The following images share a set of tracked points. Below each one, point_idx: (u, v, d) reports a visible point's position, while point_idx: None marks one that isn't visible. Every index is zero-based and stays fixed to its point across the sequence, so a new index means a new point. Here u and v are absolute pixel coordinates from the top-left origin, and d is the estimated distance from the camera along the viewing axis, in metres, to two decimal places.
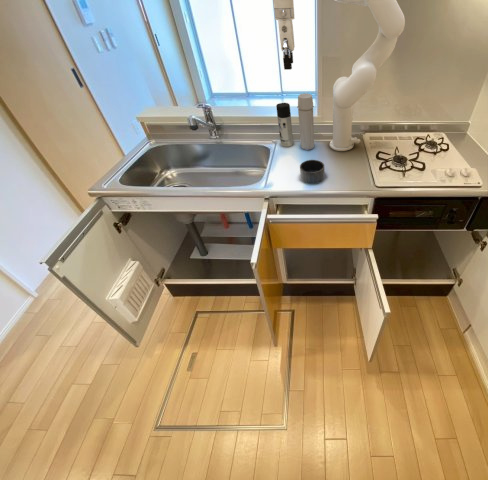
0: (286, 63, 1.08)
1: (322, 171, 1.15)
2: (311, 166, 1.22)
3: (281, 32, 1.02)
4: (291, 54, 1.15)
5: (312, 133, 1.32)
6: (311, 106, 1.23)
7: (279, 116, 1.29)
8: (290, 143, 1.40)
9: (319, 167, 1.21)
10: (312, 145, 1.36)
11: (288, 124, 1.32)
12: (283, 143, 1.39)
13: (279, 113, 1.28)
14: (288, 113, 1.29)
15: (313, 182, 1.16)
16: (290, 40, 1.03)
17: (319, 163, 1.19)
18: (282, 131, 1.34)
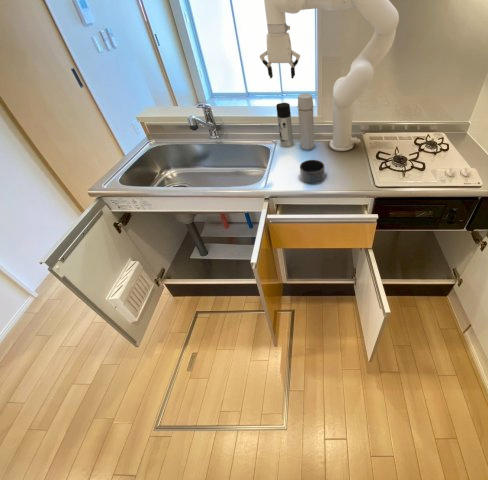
0: (294, 71, 1.17)
1: (322, 171, 1.15)
2: (311, 166, 1.22)
3: (289, 44, 1.09)
4: (271, 68, 1.18)
5: (312, 133, 1.32)
6: (311, 106, 1.23)
7: (279, 116, 1.29)
8: (290, 143, 1.40)
9: (319, 167, 1.21)
10: (312, 145, 1.36)
11: (288, 124, 1.32)
12: (283, 143, 1.39)
13: (279, 113, 1.28)
14: (288, 113, 1.29)
15: (313, 182, 1.16)
16: (291, 50, 1.13)
17: (319, 163, 1.19)
18: (282, 131, 1.34)
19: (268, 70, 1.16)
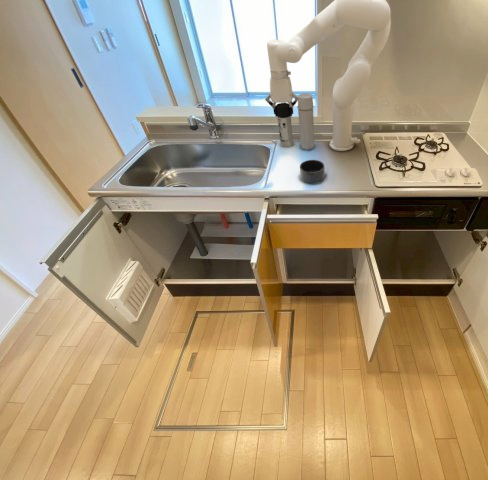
0: (292, 110, 1.30)
1: (322, 171, 1.15)
2: (311, 166, 1.22)
3: (290, 87, 1.21)
4: None
5: (312, 133, 1.32)
6: (311, 106, 1.23)
7: (279, 116, 1.29)
8: (290, 143, 1.40)
9: (319, 167, 1.21)
10: (312, 145, 1.36)
11: (288, 124, 1.32)
12: (283, 143, 1.39)
13: (279, 113, 1.28)
14: (288, 113, 1.29)
15: (313, 182, 1.16)
16: None
17: (319, 163, 1.19)
18: (282, 131, 1.34)
19: (274, 110, 1.29)
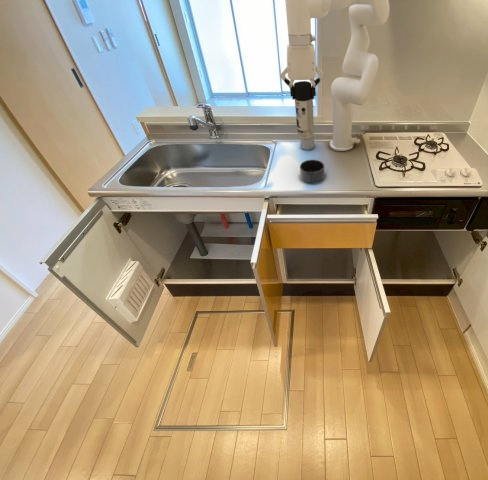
0: (315, 91, 0.99)
1: (322, 171, 1.15)
2: (311, 166, 1.22)
3: (314, 58, 0.91)
4: None
5: None
6: None
7: (297, 99, 0.99)
8: (310, 135, 1.09)
9: (319, 167, 1.21)
10: (312, 145, 1.36)
11: (308, 109, 1.02)
12: (301, 134, 1.08)
13: (297, 94, 0.98)
14: (309, 94, 0.98)
15: (313, 182, 1.16)
16: None
17: (319, 163, 1.19)
18: (301, 119, 1.04)
19: (290, 90, 0.98)
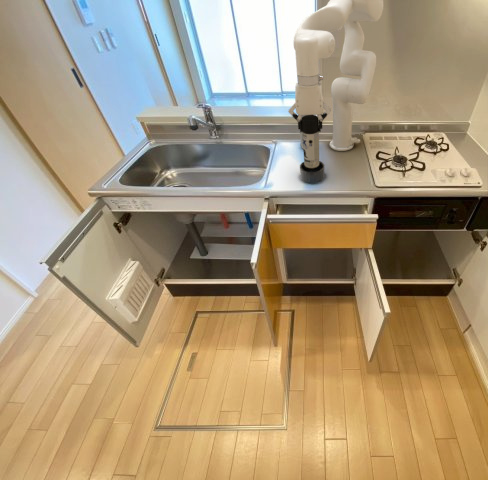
0: None
1: (322, 171, 1.15)
2: None
3: (322, 96, 0.95)
4: (301, 121, 1.03)
5: None
6: None
7: (305, 132, 1.03)
8: (316, 164, 1.13)
9: (319, 167, 1.21)
10: None
11: (315, 141, 1.06)
12: (307, 163, 1.12)
13: (305, 128, 1.02)
14: (316, 127, 1.02)
15: (313, 182, 1.16)
16: None
17: (319, 163, 1.19)
18: (308, 150, 1.07)
19: (298, 124, 1.02)
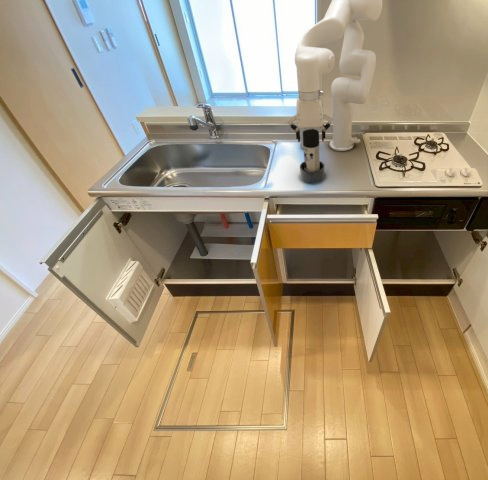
0: None
1: (322, 171, 1.15)
2: None
3: (322, 109, 0.98)
4: (299, 131, 1.06)
5: None
6: None
7: (306, 146, 1.07)
8: None
9: None
10: None
11: (316, 154, 1.10)
12: None
13: (306, 142, 1.06)
14: (316, 142, 1.06)
15: (313, 182, 1.16)
16: None
17: None
18: (309, 162, 1.12)
19: (296, 134, 1.05)
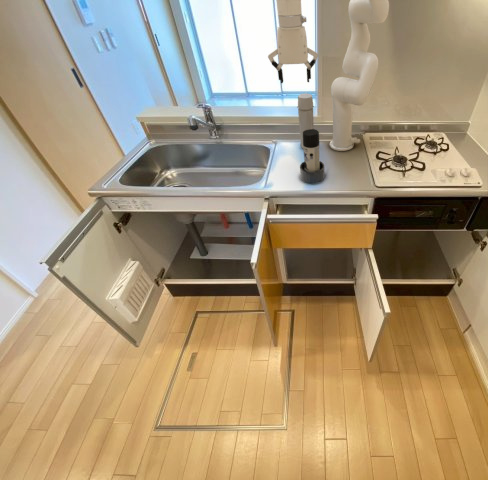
0: (310, 74, 0.96)
1: (322, 171, 1.15)
2: None
3: (306, 40, 0.88)
4: None
5: None
6: (311, 106, 1.23)
7: (306, 146, 1.07)
8: None
9: None
10: None
11: (316, 154, 1.10)
12: None
13: (306, 142, 1.06)
14: (316, 142, 1.06)
15: (313, 182, 1.16)
16: None
17: None
18: (309, 162, 1.12)
19: (278, 73, 0.95)
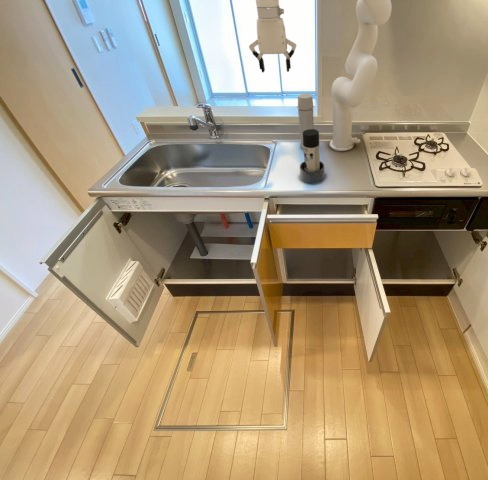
0: None
1: (322, 171, 1.15)
2: None
3: (284, 31, 0.93)
4: None
5: None
6: (311, 106, 1.23)
7: (306, 146, 1.07)
8: None
9: None
10: None
11: (316, 154, 1.10)
12: None
13: (306, 142, 1.06)
14: (316, 142, 1.06)
15: (313, 182, 1.16)
16: None
17: None
18: (309, 162, 1.12)
19: (259, 63, 1.00)
